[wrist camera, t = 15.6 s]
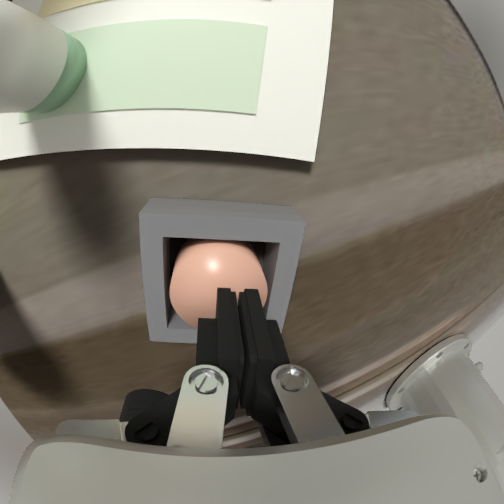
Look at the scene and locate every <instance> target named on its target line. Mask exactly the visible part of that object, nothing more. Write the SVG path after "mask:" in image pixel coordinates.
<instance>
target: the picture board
mask: <svg viewBox="0 0 504 504" xmlns="http://www.w3.org/2000/svg"><path fill="white" fill-rule="evenodd" d="M333 1H334V0H13V1H12V3H14V4H16V5H18V6H20V7H22V8H24V9H26V10H27V11H29V12H31V13H33V14H35V15H37V16H39V17H40V18H42V19H44V20H46V21H47V22H49V23H51V24H53V25H54V26H56V27H58V28H59V29H61V30H63V31H64V32H66V33H68V34H69V35H71V36H73V37H74V38H76V39H77V40H79V41H80V42H81V43H82V45H83V46H84V48H85V51H86V58H87V61H86V68H85V72H84V75H83V78H82V80H81V82H80V84H79V86H78V88H77V89H76V91H75V92H74V94H73V95H72V96H71V97H70V98H69V99H68V100H67V101H66V102H65V103H64V104H63V105H62V106H60V107H59V108H57V109H55V110H53V111H50V112H46V113H0V160H4V159H10V158H16V157H23V156H30V155H38V154H46V153H55V152H66V151H78V150H94V149H118V148H173V149H198V150H215V151H228V152H240V153H250V154H259V155H268V156H276V157H284V158H291V159H298V160H305V161H311V162H314V159H315V153H316V147H317V140H318V134H319V127H320V120H321V113H322V106H323V98H324V91H325V83H326V74H327V66H328V57H329V47H330V37H331V26H332V14H333Z"/></svg>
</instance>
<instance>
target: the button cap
mask: <svg viewBox="0 0 504 504" xmlns="http://www.w3.org/2000/svg"><path fill="white" fill-rule="evenodd" d="M217 287H220V288H231V291H233V292H236V298H237V305H238V297H239V292H244V289H258V291H259V295H260V299H261V302H262V306H263V307H264V305H265V302H266V299H267V293H268V289H267V282H266V279H265V276H264V273H263V270H262V268H261V265H260V262H259V259H258V256H257V254H256V251H255V249H254V248H253V246H252V245H251V244H250V243H249V242H248V241H239V240H219V239H198V238H189V239H188V240H187V241H186V242H185V243H184V244H183V245H182V247H181V248H180V250H179V251H178V253H177V256H176V260H175V264H174V269H173V274H172V279H171V284H170V300H171V303H172V306H173V308H174V310H175V311H176V313H177V314H178V315H179V316H180V318H182V319H183V320H184V321H185V322H186V323H188V324H189V325H191V326H193V327H195V328H198V318H215V317H216V300H217Z"/></svg>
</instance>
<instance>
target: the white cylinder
mask: <svg viewBox="0 0 504 504" xmlns="http://www.w3.org/2000/svg"><path fill="white" fill-rule="evenodd" d="M86 61H87V58H86V51H85V48H84V46H83V45H82V43H81V42H80V41H79V40H77V39H76V38H74V37H73V36H71V35H69V34H68V33H66V32H64V31H63V30H61V29H59V28H58V27H56V26H54V25H53V24H51V23H49V22H47V21H46V20H44V19H42V18H40V17H39V16H37V15H35V14H33V13H31V12H29V11H27V10H26V9H24V8H22V7H20V6H18V5H16V4H14V3H12V2H10V1H8V0H0V113H46V112H50V111H53V110H55V109H57V108H59V107H60V106H62V105H63V104H64V103H65V102H66V101H67V100H68V99H69V98H70V97H71V96H72V95H73V94H74V92H75V91H76V89H77V88H78V86H79V84H80V82H81V80H82V78H83V75H84V72H85V68H86Z"/></svg>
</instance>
